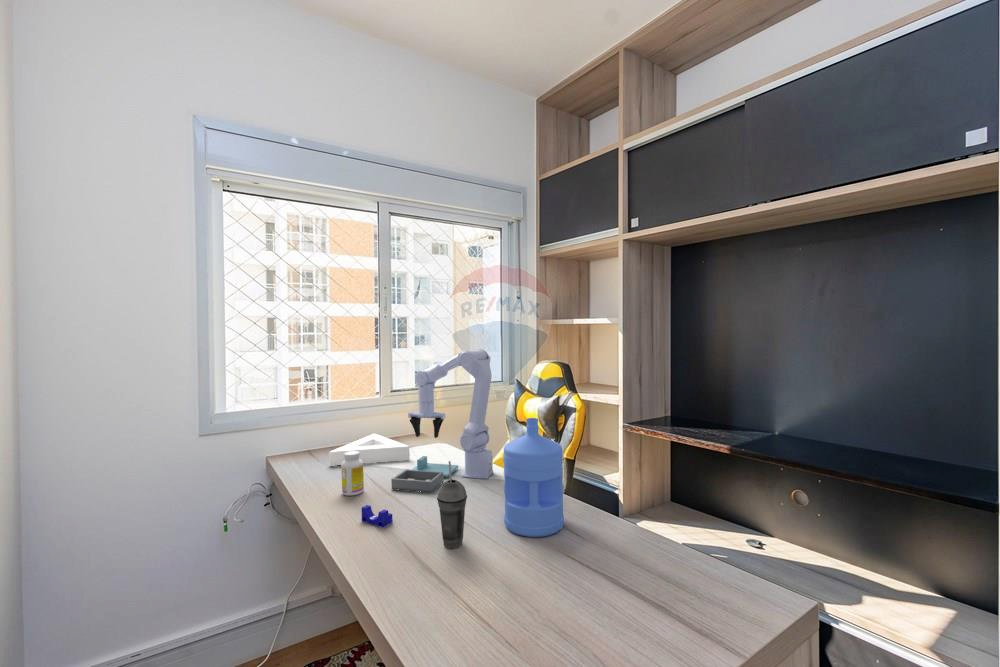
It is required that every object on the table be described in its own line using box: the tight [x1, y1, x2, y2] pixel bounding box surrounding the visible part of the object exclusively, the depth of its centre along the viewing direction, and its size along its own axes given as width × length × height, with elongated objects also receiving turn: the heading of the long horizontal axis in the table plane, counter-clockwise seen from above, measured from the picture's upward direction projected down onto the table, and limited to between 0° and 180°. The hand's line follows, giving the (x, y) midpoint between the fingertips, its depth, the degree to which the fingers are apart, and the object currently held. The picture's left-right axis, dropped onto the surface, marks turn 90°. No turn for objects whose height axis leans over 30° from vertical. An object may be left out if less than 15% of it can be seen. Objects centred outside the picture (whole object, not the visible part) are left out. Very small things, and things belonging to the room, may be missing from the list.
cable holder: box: [361, 504, 394, 528], centre depth 124 cm, size 8×4×4 cm, turn 59°
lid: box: [411, 455, 459, 478], centre depth 165 cm, size 15×11×5 cm
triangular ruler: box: [328, 433, 411, 466], centre depth 190 cm, size 30×26×6 cm
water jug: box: [502, 417, 565, 538], centre depth 120 cm, size 16×16×28 cm
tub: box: [391, 469, 445, 494], centre depth 151 cm, size 14×10×4 cm
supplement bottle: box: [340, 451, 365, 497], centre depth 146 cm, size 7×7×13 cm
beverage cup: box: [436, 460, 468, 549], centre depth 110 cm, size 7×7×20 cm
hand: (427, 436), depth 175 cm, fingers open, 7 cm apart
